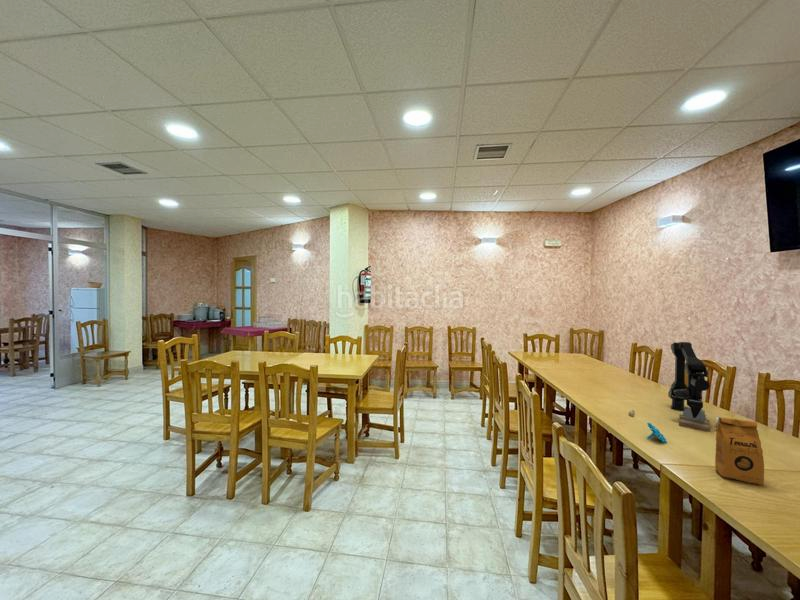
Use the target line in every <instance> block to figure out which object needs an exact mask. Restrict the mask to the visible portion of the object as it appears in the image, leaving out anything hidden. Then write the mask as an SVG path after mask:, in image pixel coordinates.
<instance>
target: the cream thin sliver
mask: <svg viewBox="0 0 800 600" xmlns="http://www.w3.org/2000/svg"><path fill="white" fill-rule="evenodd" d="M719 417H720V416H716V418H715V419H716V420H715V428H716V429H717V426H718V419H719ZM721 417H722V418H725V417H723V416H721Z"/></svg>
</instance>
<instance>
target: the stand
mask: <svg viewBox="0 0 800 600" xmlns="http://www.w3.org/2000/svg"><path fill="white" fill-rule="evenodd" d="M678 417H679V418H678V426H679V427H683V428H687V429H693V430H698V431H702V432H706V433H707V432H709V433H711V424H710V420H709V419H707V420H705V424H700V423H695V422H690V421H685V420H684V416H683V415H682V414H679V416H678Z"/></svg>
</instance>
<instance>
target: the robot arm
mask: <svg viewBox="0 0 800 600" xmlns="http://www.w3.org/2000/svg"><path fill="white" fill-rule="evenodd" d="M670 350H671V353H672V354H673V355H674V360H675V361H674V381H673V382H672V383H671V385H670V388H669V391H668V398H670V399H671V406H670V409H671V410H677V411H681V412H682V411H684V407H685V401H686V405H687V407H690V408H691V411H692V415H693V418H696V417H697V415H698V414H699V412H700V411H701V409H702V410H703V407H704V402H703V392H704V391H707V390H709V389H710V386H711V385H710V382H709V381H707V380H706V379H705V378H708V377H709V370H708V369H707V368H708V367H706V364H704V362H703V360H702V359H700V358H698V357H697V355H696V353H695V350H694V349H693V346H692V343H691V342H689V341H688V342H687V341H680V342H673V343H671V344H670ZM686 375H687V384H686V381H685V378H686Z"/></svg>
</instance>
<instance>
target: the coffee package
mask: <svg viewBox="0 0 800 600" xmlns="http://www.w3.org/2000/svg"><path fill="white" fill-rule="evenodd" d="M718 417H719V419H718V426H717V428H716V434H715V435H716V437H715V454H714V455H715V458H714V460H715V461H714V462H715V464H714V465H715V467H714V468H715V470H716V472H717V473H718V474H719V475H720V476H722V477H724V478H727V479H731V480H737V481H741V482H744V483H745V482H746V483H750V484H755V485H759V486H762V485H763V483H765V461H764V455H763V454H764V452H763V451H764V450H763V448H762V443H761V439H760V435H759V431H758V428H757V427H758V421H751V420H743V419H737V418H730V417H724V418H722V417H723V416H718Z"/></svg>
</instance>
